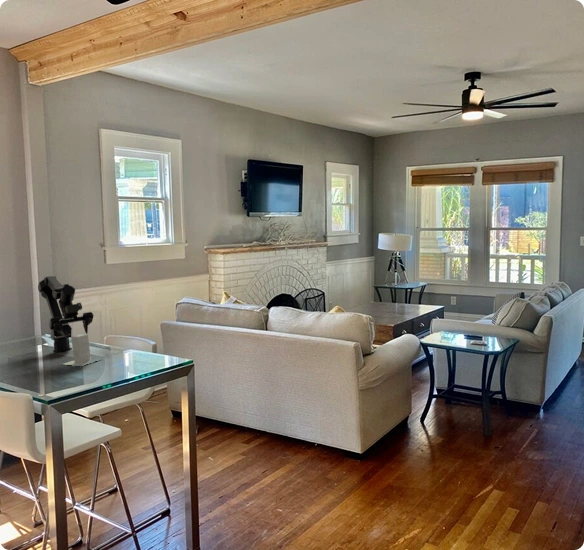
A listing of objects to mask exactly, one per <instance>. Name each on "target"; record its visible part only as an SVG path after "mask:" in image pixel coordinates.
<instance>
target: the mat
mask: <svg viewBox="0 0 584 550" xmlns="http://www.w3.org/2000/svg"><path fill="white" fill-rule="evenodd" d="M87 362H88V361H86V362H83V363H74V360H71V361H68V362H65V363H64V362H63V363H62V366H67V365H72V366H71V367H74V366H73V365H79V364H81V365H82V366H83V367H85V366H84V364H86V363H87Z"/></svg>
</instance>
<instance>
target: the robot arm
mask: <svg viewBox="0 0 584 550" xmlns="http://www.w3.org/2000/svg"><path fill="white" fill-rule="evenodd" d="M37 289H38V290H37V291H38V292H39V293H40V296H41V297H42V298H44V299H45V300H46V303H47V306H48V309H49V311H50V312H49V313H50V316H51V318H50V319H49V323H48V325H49V329H50V331H51V332H50V339H51V340H52V341H54V342H53V350H52V351H53V352H56V353H64V352H66V351H70V350H73V347H71V345H70V339H69V338H71V337H72V331H73V328H72V327H71V325H70V324H71V323H77V322H82V324H83V325H82V326H83V329H84V332H85V334H88V331H89V326H90V324H92V322H93V320H94V314H93V312H91V311H88V312H83V313H82V316H79V311H82V309H83V306H82V305H83V304H82V302H77V303H74V304H73V301H74V298H75V293H76V289H75V287H74V286H72V285H69V283H65V284H62V283H61V282H60V281H59V280H58V279H57V277H56V275H50V276H49V275H48V276H46V277H44V278H43V279H42V280H41V281H39V282H38V285H37Z"/></svg>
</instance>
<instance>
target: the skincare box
mask: <svg viewBox="0 0 584 550" xmlns="http://www.w3.org/2000/svg"><path fill="white" fill-rule="evenodd" d="M70 338H71V339H70V340H71V345H72V347H71V348H72V354H73V355H72V356H73V361H74V363H83V362H86V361H89V360H91V358H92V357H91V350H90V341H89V334H88V333H87V334H86V333H80V334H76V335H73V336H71V337H70Z"/></svg>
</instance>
